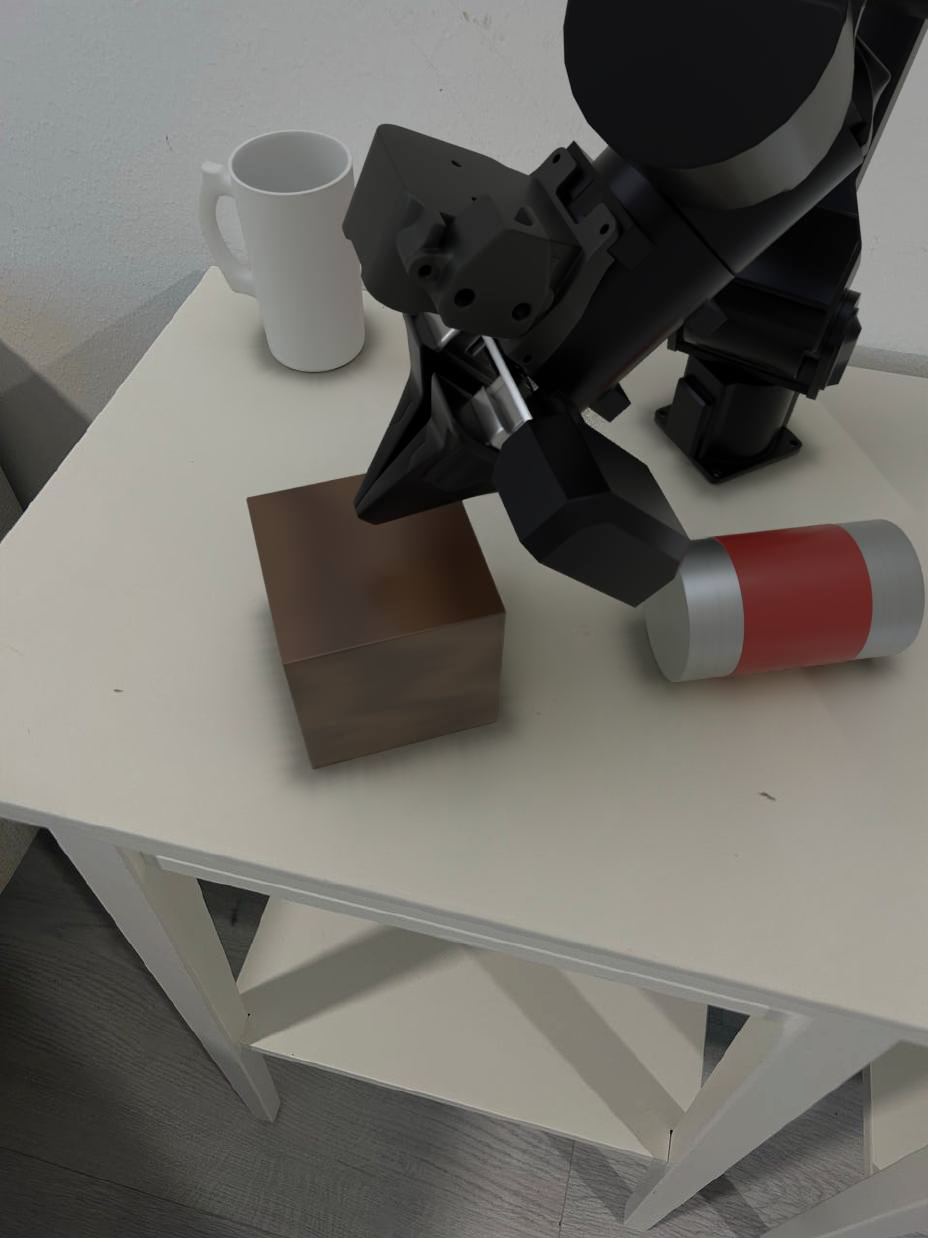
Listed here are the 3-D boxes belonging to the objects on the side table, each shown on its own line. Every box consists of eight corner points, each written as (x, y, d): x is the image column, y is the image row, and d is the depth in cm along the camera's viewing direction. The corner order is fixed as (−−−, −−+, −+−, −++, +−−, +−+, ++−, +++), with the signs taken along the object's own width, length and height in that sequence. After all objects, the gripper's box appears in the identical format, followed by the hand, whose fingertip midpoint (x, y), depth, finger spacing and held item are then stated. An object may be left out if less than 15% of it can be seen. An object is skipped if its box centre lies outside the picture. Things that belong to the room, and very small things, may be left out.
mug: (384, 321, 61) (371, 140, 51) (345, 385, 57) (323, 204, 47) (247, 291, 63) (209, 110, 53) (201, 351, 59) (150, 169, 49)
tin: (922, 674, 42) (691, 703, 41) (846, 634, 49) (644, 658, 47) (929, 530, 40) (688, 557, 39) (849, 508, 47) (640, 531, 46)
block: (446, 578, 49) (445, 455, 41) (497, 721, 44) (507, 611, 36) (278, 616, 47) (245, 496, 40) (311, 769, 42) (281, 665, 35)
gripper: (419, -101, 28) (152, 273, 35) (668, 232, 18) (222, 665, 25) (618, 124, 36) (366, 393, 43) (869, 445, 26) (486, 729, 33)
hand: (363, 515), depth 36 cm, fingers closed
